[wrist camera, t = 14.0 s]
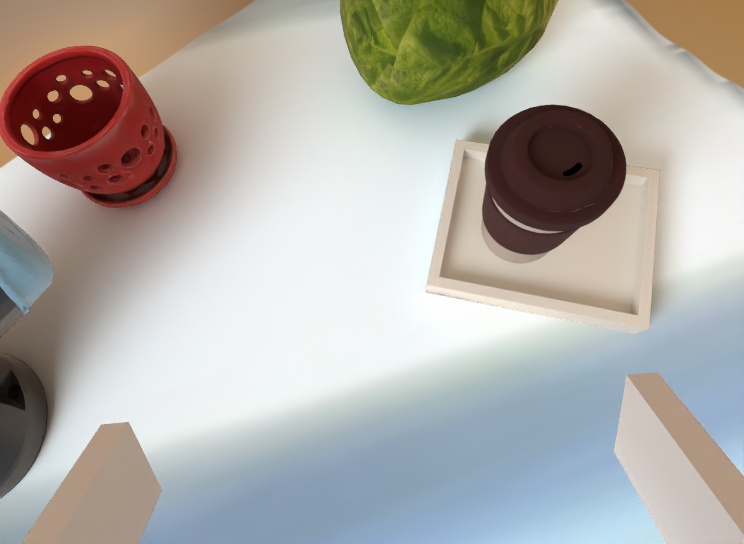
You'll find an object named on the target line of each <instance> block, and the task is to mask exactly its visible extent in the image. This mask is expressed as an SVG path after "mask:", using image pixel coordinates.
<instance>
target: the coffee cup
mask: <svg viewBox="0 0 744 544" xmlns="http://www.w3.org/2000/svg"><path fill="white" fill-rule="evenodd" d="M484 171H485V180H486V186H485V193H484V199H483V205H482V217H483V218H482V225H481V230H482V236H483V239H484V241H485V243H486V245H487V246H488V248H489V249H490V250H491V251H492V252H493V253H494V254H495V255H496V256H498V257H499V258H501V259H503V260H505V261H508V262H512V263H529V262H533V261H536V260H538V259H540V258H542V257H543V256H545V255H546V254H547V253H548V252H549V251H551V250H553V249H555V248H556V247H558V246H559V245H561V244H562V243H563V242H564V241H565V240H566V239H568V238H569V237H570V236H571V235H572V234H573V233H574V232H576V231H577V230H578V229H579V228H580V227H583V226H585V225H587V224H589V223H591V222H593V221H594V220H596V219H598V218H599V217H600V216H601V215H603V214H604V213H605V212H606V210H607V209H608V208H609V207H610V206H611V205H612V204H613V203H614V202H615V200H616V199H617V198H618V196H619V194H620V193H621V191H622V188H623V186H624V183H625V179H626V159H625V155H624V152H623V149H622V146H621V144H620V143H619V141H618V139H617V137H616V136H615V135H614V133H613V132H612V131H611V130H610V129H609V128H608V127H607V126H606V125H605V124H604V123H603V122H602V121H600V120H599V119H597V118H596V117H594V116H593V115H591V114H589V113H587V112H584V111H582V110H580V109H576V108H573V107H569V106H562V105H543V106H537V107H532V108H529V109H526V110H524V111H521V112H519V113H517V114H516V115H514V116H512V117H511V118H509V119H508V120H507V121H506V122H504V123H503V124H502V125H501V126H500V128H499V129H498V130H497V131H496V133H495V134H494V136H493V138H492V140H491V142H490V145H489V148H488V151H487V155H486V159H485V169H484Z"/></svg>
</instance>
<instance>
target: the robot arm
mask: <svg viewBox="0 0 744 544" xmlns="http://www.w3.org/2000/svg"><path fill="white" fill-rule="evenodd" d="M53 276H54V272H53V265H52V263H51V261H50V259H49V258H48V256H47V255H46V254H45V252H44V251H43V250H42V249H41V248H40V247H39V246H38V245H37V243H36V242H35V241H34V240H33V239H32V238H31V237H30V236H29V235H28V234H26V233H25V232H24V231H23V230H22V229H21V228H20V227H19V226H18V225H17V224H16V223H14V222H13V221H12V220H11V219H10V218H9V217H8V216H7V215H5V214H4V213H3V212H2V211H1V210H0V337H1V336H2V335H3V334H4V333H5V332H6V331H8V330H9V329H10V328H11V327H12V326H13V325H14V324H15V323H16V322H17V321H18V320H19V319H20V318H22V317H23V316H24V315H26V314H27V313H28V312H29V310H30V307H31V306H32V305H33V303H34V302H35V301H36V300H37V299H38V298H39V297H40V296H41V295H42V294H43V293H44V291H45V290H46V289H47V288H48V287H49V286H50V285H51V283H52V281H53V280H52V279H53ZM46 422H47V404H46V397H45V393H44V390H43V387H42V385H41V383H40V381H39V379H38V377H37V376H36V374H35V373H34V372H33V371H32V369H31V368H30V367H29V366H27V365H26V364H25V363H24V362H22V361H21V360H19V359H17V358H15V357H12V356H9V355H5V354H0V498H1V497H3V496H4V495H5V494H7V493H8V492H9V491H10V490H11V489H12V488H13V487H14V486H15V485H16V484H17V483H18V482H19V481H20V480H21V479H22V478H23V476H24V475H25V474H26V472H27V471H28V470H29V468H30V467H31V465H32V463H33V462H34V460H35V458H36V456H37V454H38V451H39V449H40V447H41V444H42V441H43V438H44V434H45V429H46ZM614 452H615V454H616V456H617V458H618V459H619V461H620V463H621V465H622V466H623V468H624V470H625V472H626V473H627V475H628V477H629V479H630V480H631V482H632V484H633V486H634V487H635V489H636V491H637V493H638V494H639V496H640V498H641V500H642V501H643V503H644V505H645V507H646V508H647V510H648V512H649V514H650V515H651V517H652V519H653V521H654V522H655V524H656V526H657V528H658V529H659V531H660V533H661V535H662V536H663V538H664V540H665V542H666V543H667V544H744V476H743V475H742V474H741V473H740V471H739V470H738V469H737V468H736V467H735V465H734V464H733V463H732V462H731V461H730V459H729V458H728V457H727V456H726V454H725V453H724V452H723V451H722V450H721V448H720V447H719V446H718V445H717V444H716V442H715V441H714V440H713V439H712V438H711V436H710V435H709V434H708V433H707V432H706V430H705V429H704V428H703V427H702V426H701V424H700V423H699V422H698V421H697V419H696V418H695V417H694V416H693V415H692V413H691V412H690V411H689V410H688V409H687V407H686V406H685V405H684V404H683V403H682V401H681V400H680V399H679V398H678V397H677V395H676V394H675V393H674V392H673V390H672V389H671V388H670V387H669V386H668V384H667V383H666V382H665V381H664V380H663V378H662V377H661V376H660V375H659V374H658V372H657V373H647V374H636V375H627V377H626V383H625V389H624V395H623V401H622V407H621V413H620V419H619V425H618V431H617V437H616V443H615V449H614ZM161 492H162V489H161V487H160V485H159V483H158V481H157V479H156V477H155V475H154V473H153V471H152V469H151V467H150V465H149V463H148V461H147V459H146V457H145V454H144V452H143V450H142V448H141V446H140V444H139V442H138V440H137V438H136V436H135V434H134V432H133V430H132V428H131V426H130V424H129V422H125V423H114V424H104V425H101V426H100V427H99V429H98V430H97V432H96V433H95V435H94V436H93V438H92V439H91V441H90V442H89V444H88V445H87V447H86V448H85V450H84V451H83V453H82V454H81V456H80V457H79V459H78V460H77V462H76V463H75V465H74V466H73V468H72V469H71V470H70V472H69V473H68V475H67V476H66V478H65V479H64V481H63V482H62V484H61V485H60V487H59V488H58V490H57V491H56V493H55V494H54V496H53V497H52V499H51V500H50V502H49V503H48V505H47V506H46V508H45V509H44V511H43V512H42V513H41V515H40V516H39V518H38V519H37V521H36V522H35V524H34V525H33V527H32V528H31V530H30V531H29V533H28V534H27V536H26V537H25V539H24V540H23V542H22V543H21V544H138V543H139V541H140V538H141V536H142V534H143V532H144V529H145V527H146V525H147V523H148V521H149V518H150V516H151V514H152V512H153V509H154V507H155V505H156V503H157V500H158V498H159V496H160V494H161Z"/></svg>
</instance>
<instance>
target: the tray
mask: <svg viewBox="0 0 744 544" xmlns="http://www.w3.org/2000/svg"><path fill="white" fill-rule="evenodd" d="M488 148H489V144H483V143H476V142H469V141H463V140H456V144H455V149H454V154H453V159H452V164H451V168H450V173H449V178H448V183H447V188H446V193H445V198H444V203H443V208H442V212H441V217H440V222H439V227H438V232H437V237H436V242H435V247H434V252H433V256H432V261H431V266H430V271H429V276H428V281H427V287H426V292H428V293H433V294H438V295H443V296H448V297H453V298H458V299H463V300H467V301H472V302H477V303H482V304H487V305H492V306H497V307H502V308H507V309H512V310H517V311H522V312H527V313H532V314H537V315H542V316H547V317H552V318H557V319H562V320H567V321H572V322H577V323H582V324H587V325H592V326H597V327H602V328H607V329H612V330H617V331H622V332H627V333H632V334H637V333H639V332H642V331H645V330H647V329H649V326H650V311H651V296H652V281H653V267H654V252H655V237H656V222H657V207H658V193H659V178H660V170H654V169H648V168H641V167H634V166H628V165H626V179H625V183H624V186H623V188H622V191H621V193H620V194H619V196H618V198H617V199H616V200H615V202H614V203H613V204H612V205H611V206H610V207H609V208H608V209H607V210H606V212H605V213H604V214H603V215H601V216H600V217H599V218H598V219H596V220H594V221H593V222H591V223H589V224H587V225H585V226H583V227H580V228H579V229H578V230H577V231H576V232H574V233H573V234H572V235H571V236H570V237H569V238H568V239H566V240H565V241H564V242H563V243H562V244H561V245H559V246H558V247H556V248H555V249H553V250H551V251H549V252H548V253H547V254H546V255H545V256H543V257H542V258H540V259H538V260H536V261H533V262H529V263H512V262H508V261H505V260H503V259H501V258H499V257H498V256H496V255H495V254H494V253H493V252H492V251H491V250H490V249H489V248H488V246H487V245H486V243H485V241H484V239H483V236H482V230H481V225H482V218H483V217H482V205H483V199H484V193H485V186H486V180H485V171H484V169H485V159H486V155H487V151H488Z"/></svg>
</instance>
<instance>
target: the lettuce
mask: <svg viewBox="0 0 744 544" xmlns="http://www.w3.org/2000/svg"><path fill="white" fill-rule="evenodd" d="M557 2H558V0H340V14H341V20H342V25H343V31H344V36H345V40H346V43H347V46H348V49H349V52H350V55H351V58H352V60H353V61H354V63H355V65H356V67H357V69H358V71H359V73H360V75H361V76H362V78H363V79H364V80H365V81H366V83H367V84H368V85H369V87H370V88H371V89H372V90H373V91H375V92H376V93H377V94H379V95H380V96H381V97H383V98H385V99H388V100H390V101H392V102H395V103H397V104H406V105H414V104H419V103H424V102H430V101H435V100H441V99H447V98H452V97H456V96H459V95H462V94H465V93H468V92H470V91H473V90H475V89H477V88H479V87H481V86H483V85H485V84H486V83H488V82H490V81H492V80H494V79H496V78H497V77H499V76H501V75H503V74H504V73H506V72H507V71H508V70H510V69H511V68H512V67H513V66H514V65H515V64H516V63H517V62H519V61H520V60H521V59H522V58H523V57H524V56H525V55H526V54H527V53H528V52H529V51H530V50H531V49H533V48H534V46H535V45H536V44H537V42H538V41H539V40H540V38H541V37H542V36H543V33H544V31H545V29H546V27H547V24H548V22H549V20H550V17H551V15H552V13H553V11H554V9H555V7H556V4H557Z"/></svg>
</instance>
